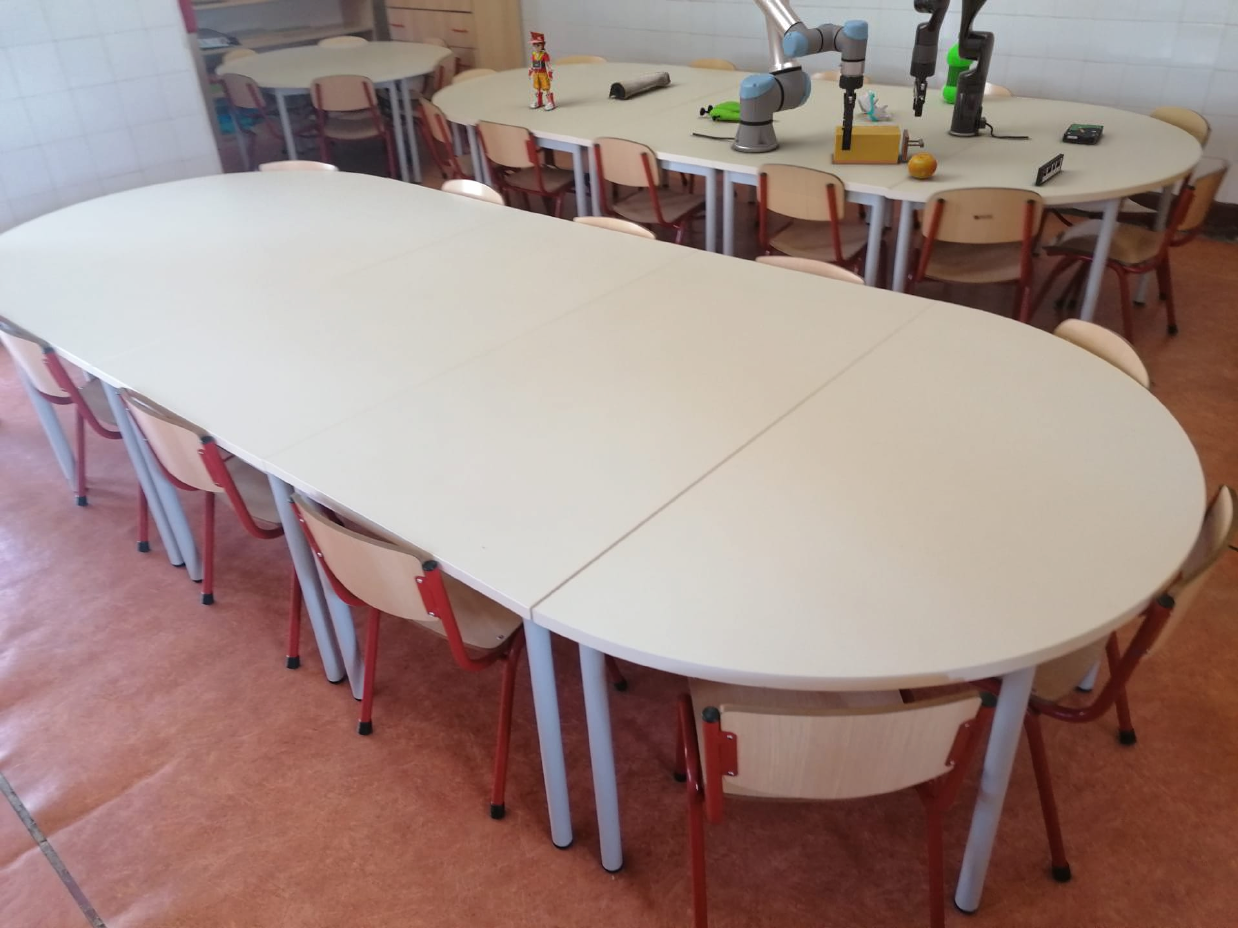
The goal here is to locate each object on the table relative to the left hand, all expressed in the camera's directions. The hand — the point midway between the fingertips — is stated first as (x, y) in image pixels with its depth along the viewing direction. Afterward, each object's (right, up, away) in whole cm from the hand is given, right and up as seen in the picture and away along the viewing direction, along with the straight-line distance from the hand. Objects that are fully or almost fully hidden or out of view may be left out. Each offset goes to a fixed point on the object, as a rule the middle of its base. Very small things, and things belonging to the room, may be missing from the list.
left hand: (845, 145), depth 299 cm
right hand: (+21, +7, -9) cm, 24 cm away
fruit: (+19, -16, -18) cm, 31 cm away
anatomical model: (+21, +26, +44) cm, 56 cm away
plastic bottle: (+57, +37, +56) cm, 88 cm away
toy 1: (-108, +46, +84) cm, 145 cm away
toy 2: (-28, +29, +53) cm, 67 cm away
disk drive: (+83, +5, +8) cm, 84 cm away
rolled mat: (-66, +58, +98) cm, 132 cm away
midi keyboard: (+56, -19, -24) cm, 64 cm away
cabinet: (+7, -4, +1) cm, 8 cm away
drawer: (+13, -4, 0) cm, 13 cm away
